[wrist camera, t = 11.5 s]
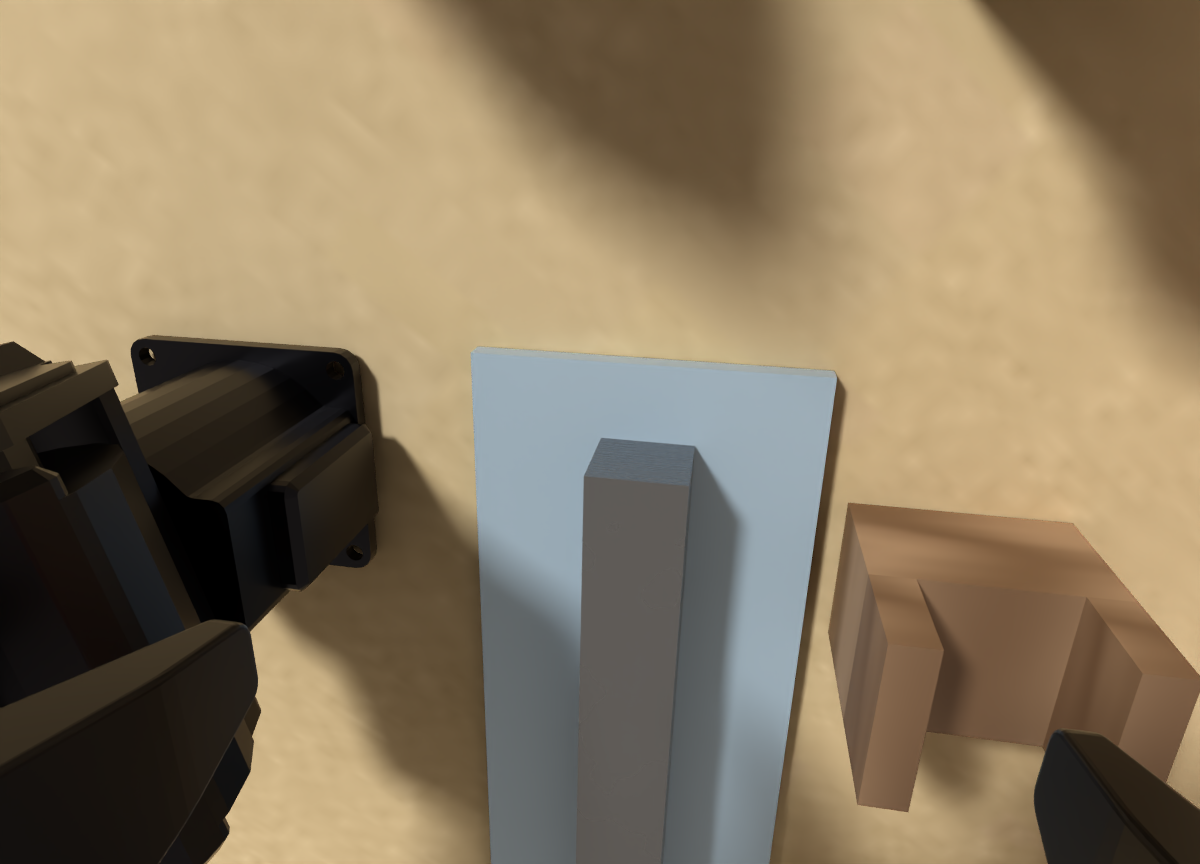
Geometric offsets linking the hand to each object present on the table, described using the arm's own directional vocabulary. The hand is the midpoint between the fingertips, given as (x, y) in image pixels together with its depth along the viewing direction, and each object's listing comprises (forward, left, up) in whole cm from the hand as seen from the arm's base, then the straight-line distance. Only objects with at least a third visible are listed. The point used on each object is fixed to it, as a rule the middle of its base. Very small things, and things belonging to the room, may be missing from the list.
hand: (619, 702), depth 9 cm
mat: (-1, -14, -12) cm, 19 cm away
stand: (+7, -5, -12) cm, 15 cm away
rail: (-1, -14, -11) cm, 18 cm away
